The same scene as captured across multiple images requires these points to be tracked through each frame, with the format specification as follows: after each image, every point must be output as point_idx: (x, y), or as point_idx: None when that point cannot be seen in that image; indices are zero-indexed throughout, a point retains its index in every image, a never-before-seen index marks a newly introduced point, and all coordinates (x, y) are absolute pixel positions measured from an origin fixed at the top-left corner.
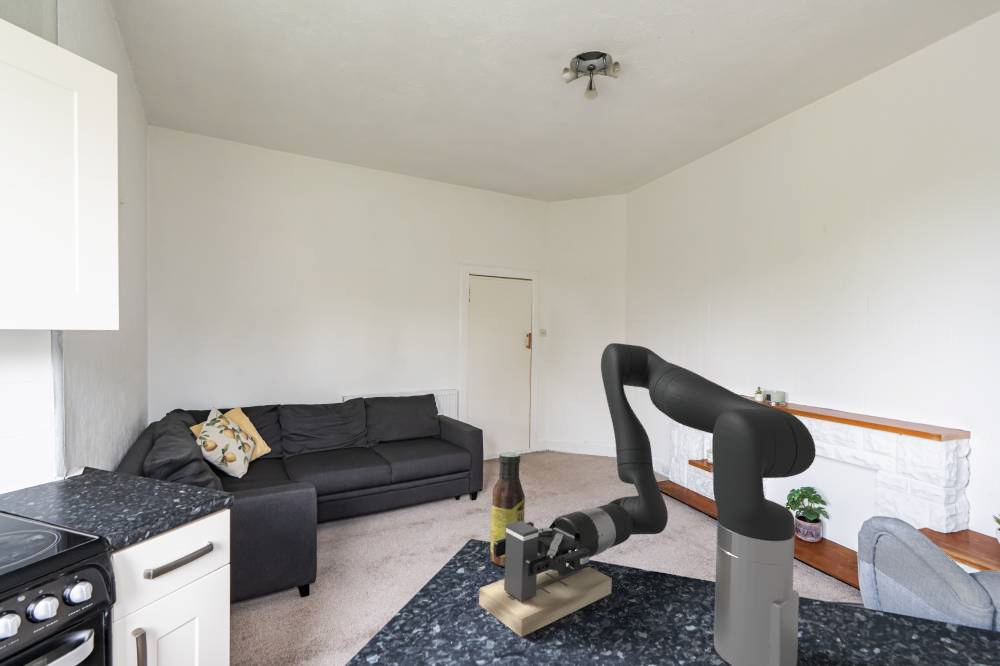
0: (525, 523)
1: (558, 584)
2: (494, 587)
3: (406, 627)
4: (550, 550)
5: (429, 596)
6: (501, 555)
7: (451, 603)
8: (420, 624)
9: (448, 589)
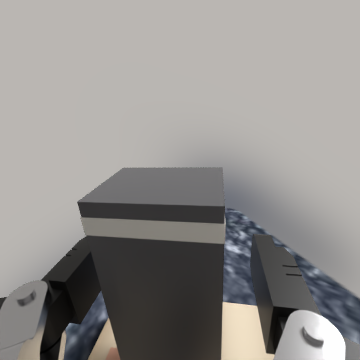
0: (175, 201)
1: None
2: (251, 338)
3: (253, 231)
4: (29, 324)
5: (328, 280)
6: (254, 287)
7: None
8: (251, 241)
9: (355, 323)
